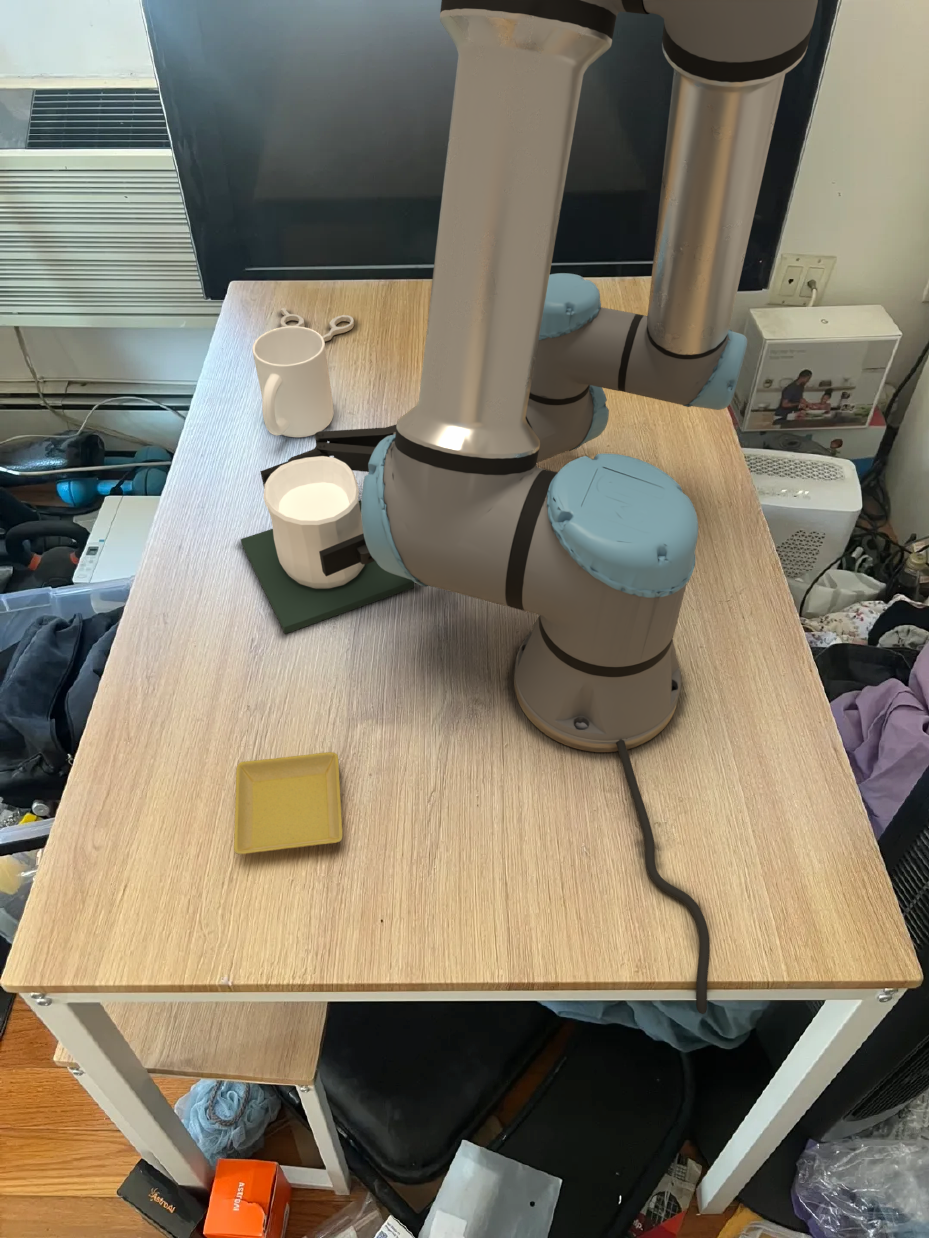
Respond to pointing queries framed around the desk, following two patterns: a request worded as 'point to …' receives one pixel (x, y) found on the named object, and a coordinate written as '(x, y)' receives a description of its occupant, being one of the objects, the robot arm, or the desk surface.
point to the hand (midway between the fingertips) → (291, 522)
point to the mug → (293, 381)
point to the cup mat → (310, 604)
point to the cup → (313, 517)
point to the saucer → (287, 803)
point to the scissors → (332, 323)
